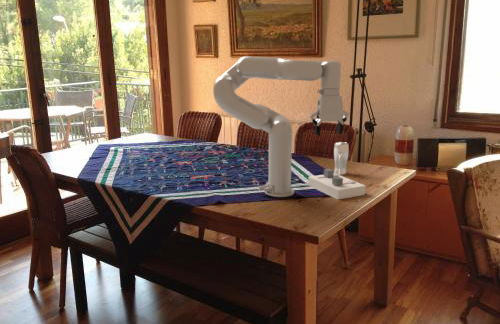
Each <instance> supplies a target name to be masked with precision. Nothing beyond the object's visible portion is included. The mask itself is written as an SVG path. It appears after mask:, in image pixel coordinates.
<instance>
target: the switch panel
mask: <svg viewBox="0 0 500 324" xmlns="http://www.w3.org/2000/svg"><path fill="white" fill-rule="evenodd" d="M333 177H341V178H343V185H339V186H336V185H334V184H332V177H326V176H324V174H319V175H311V176H308V177H307V178H308V181H307V185H308V186H309V187H311V188H313V189H315V190H317V191H319V192H321V193H323V194H325V195H327V196H330V197H332V198H334V199H335V200H342V199H347V198H348V199H350V198H353V197H354V198H355V197H360V196H366V188H367V187H366V184H365V185H364V184H363V183H360V182H358V181H355V180H353V179H350V178H348V177H345V176H344V175H338V174H335V173H334V175H333Z"/></svg>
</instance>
